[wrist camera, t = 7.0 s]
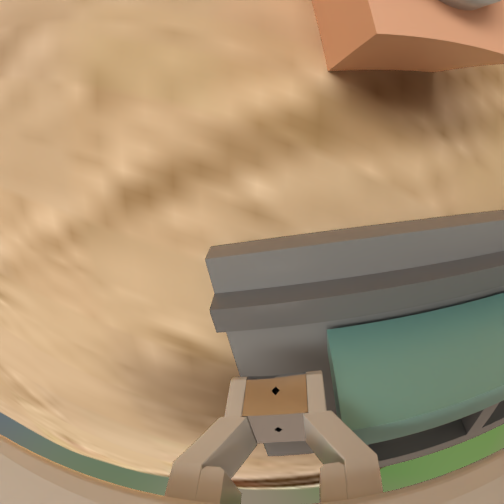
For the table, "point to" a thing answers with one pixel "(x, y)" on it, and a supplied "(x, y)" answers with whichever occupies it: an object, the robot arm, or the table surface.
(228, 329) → the housing
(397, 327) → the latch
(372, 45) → the peach button block
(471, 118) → the table surface
